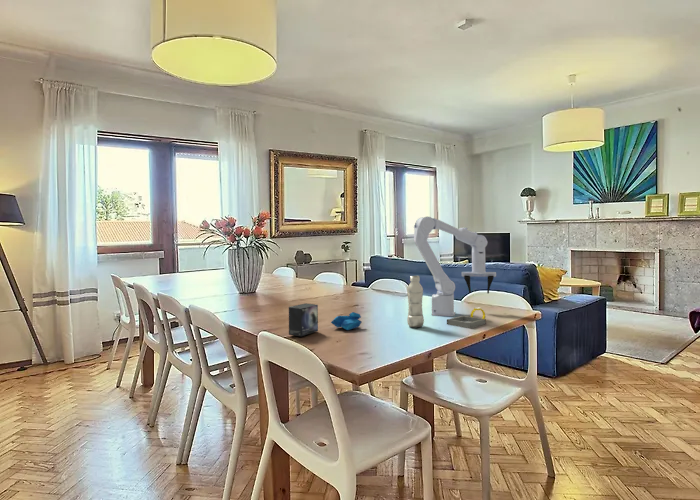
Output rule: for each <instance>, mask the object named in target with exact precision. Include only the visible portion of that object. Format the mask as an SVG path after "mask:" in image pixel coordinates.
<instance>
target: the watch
mask: <svg viewBox="0 0 700 500" xmlns="http://www.w3.org/2000/svg"><path fill="white" fill-rule="evenodd" d="M476 311H480V312H482V317H481V318H482V319H486V312H485V311H484V309H483V308H482V307H479V306H478V307H473V309H472V310H471V312H470V317H474V313H475V312H476Z"/></svg>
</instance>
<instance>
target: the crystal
mask: <svg viewBox="0 0 700 500" xmlns="http://www.w3.org/2000/svg"><path fill="white" fill-rule="evenodd" d="M360 318H362V316H361V314H360V313H358V312H354V311H351V312H350V313H349V314H348V315H337V316H336V317H334V319H332V320H331V322H330V323H331V324H332V325H333V326H335V327H336V328H338V329H339V328H342V329H344V330H346V331H349V330H352V329H356V328H359V327H361V324H362V321H361V320H360Z"/></svg>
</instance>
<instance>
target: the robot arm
mask: <svg viewBox="0 0 700 500" xmlns="http://www.w3.org/2000/svg"><path fill="white" fill-rule="evenodd" d="M433 230H440V231H442V232H445V233H448V234H451V235H453V236H454V237H455V239H456V241H459V242H461V243H464V244H467V245H469V246H470V248H471V271H461V277H463V279H464V281H465V284H466V285H467V289H468V294H471V293H472V289H471V277H487V293H486V294H489V293H490V288H491V286H492V282H493V280H494V278H496V277H497V272H496V271H486V247H487V246H488V242H489V241H488V240H487V238H486V236H484V235H483V234H478V232H477V231H471V230H469V227H466V226H465V227H459V228H457V227H455V226H453V225H451V224H449V223H447V222H444V221H442V220H441V219H437V218H434V217H433V218H432V217H431V216H424V217H418V218H417V220H416V221H415V223H414V225H413V231H414V232H413V241H414V244H415V246H416V247H417V250H418V251H419V253H420V255H421V256H422V259H423V261H425V264H426V266H427V268H428V270H429V271H430V273H431V275H432V277H433V278H432V279H433V282H434V284H435V289H436V290H437V291H436V294H435V293H433V294H432V295H431V315H432V316H438V317H439V316H443V317H448V316H449V317H455V315H456V311H455V310H454V309H455V306H454V305H455V293H454V292H455V291H456V284H455V282H454V281H453V280H451V279H450V277H449V276H448V275H447V274H446V273H445V271H444V270H443V267H442V266H441V264H440V262H439V260H438V259H437V257H436V255H435V253H434V251H433V249H432V247H431V246H430V243H429V242H428V237H429V235H430V233H431V232H432V231H433Z"/></svg>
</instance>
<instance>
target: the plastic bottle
mask: <svg viewBox="0 0 700 500" xmlns="http://www.w3.org/2000/svg"><path fill="white" fill-rule="evenodd" d="M409 277H410V278H409V281H410V283H409V284H408V286H407V288H406V295H407V299H408V300H407V303H408V309H407V310H408V313H407V325H408V327H410V328H422V327H423V326H424V322H425V319H424V314H423V295H424V287H423V285H421V282H420V281H421V279H420V275H410V276H409Z"/></svg>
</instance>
